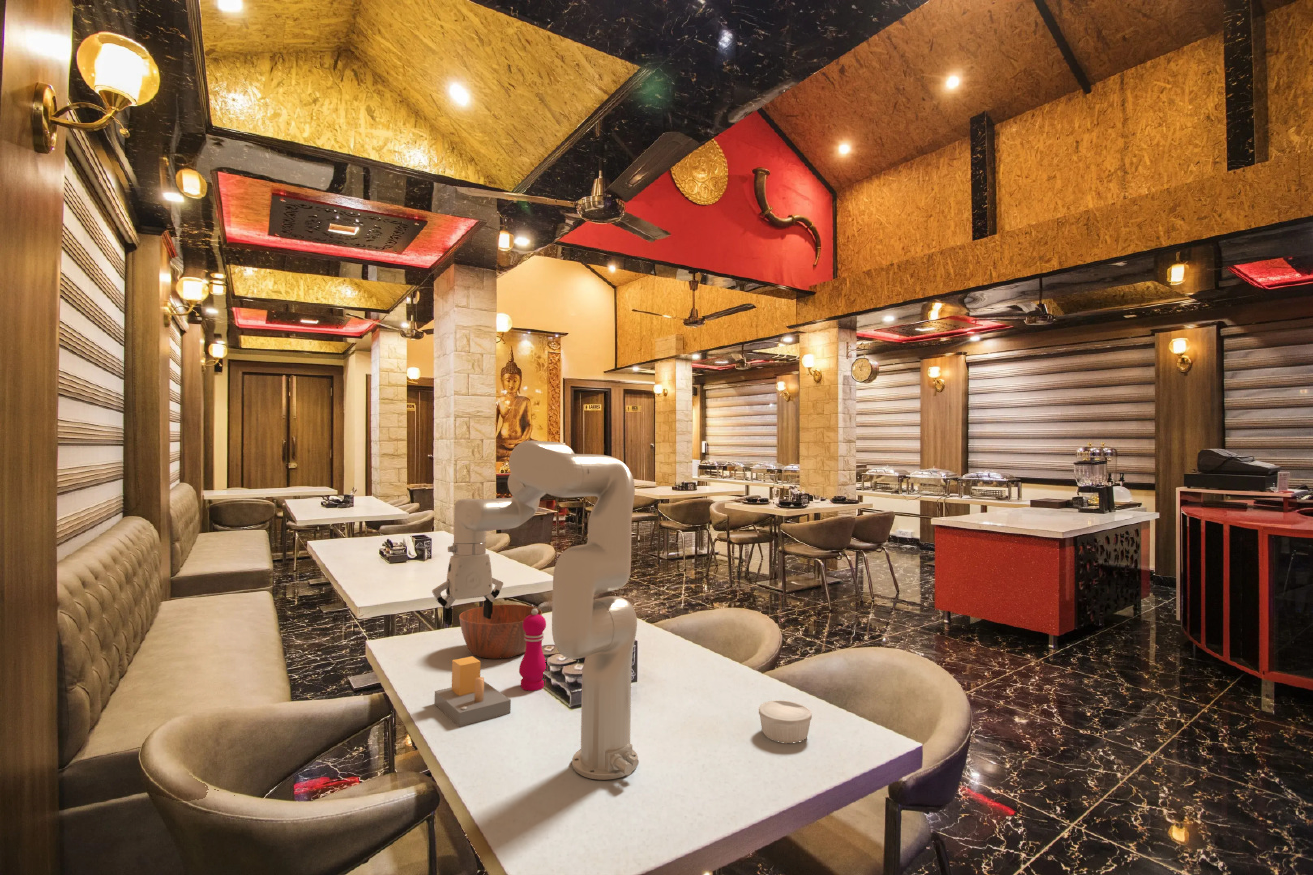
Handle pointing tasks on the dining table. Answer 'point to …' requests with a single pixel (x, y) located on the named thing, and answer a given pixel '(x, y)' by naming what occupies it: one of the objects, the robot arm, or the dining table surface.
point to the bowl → (496, 630)
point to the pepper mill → (533, 652)
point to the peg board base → (473, 703)
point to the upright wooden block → (465, 675)
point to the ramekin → (785, 721)
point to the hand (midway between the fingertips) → (468, 620)
